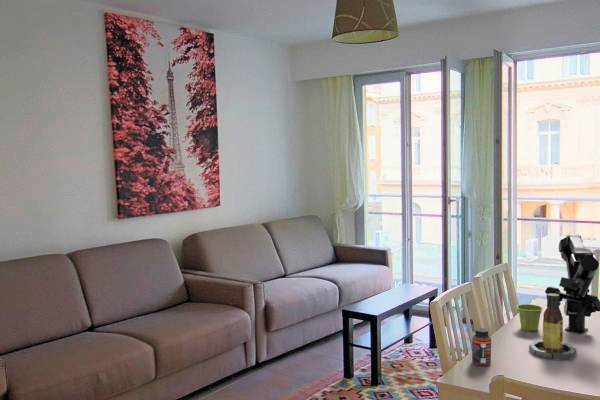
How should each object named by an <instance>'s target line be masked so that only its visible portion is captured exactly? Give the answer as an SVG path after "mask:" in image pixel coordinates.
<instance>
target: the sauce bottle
mask: <svg viewBox="0 0 600 400" xmlns="http://www.w3.org/2000/svg"><path fill="white" fill-rule="evenodd" d="M542 319H543V320H542V340H543V346H544V347H543V349H544V350H545V351H548V352H551V353H561V352H562V348H563V343H564V342H563V341H564V338H563V336H564V332H563V331H564V325H563V323H564V317H563V315H562V311H561V309H560V306H559V295H558V294H553V293H550V294H546V309H545V310H544V311H543V318H542Z"/></svg>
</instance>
